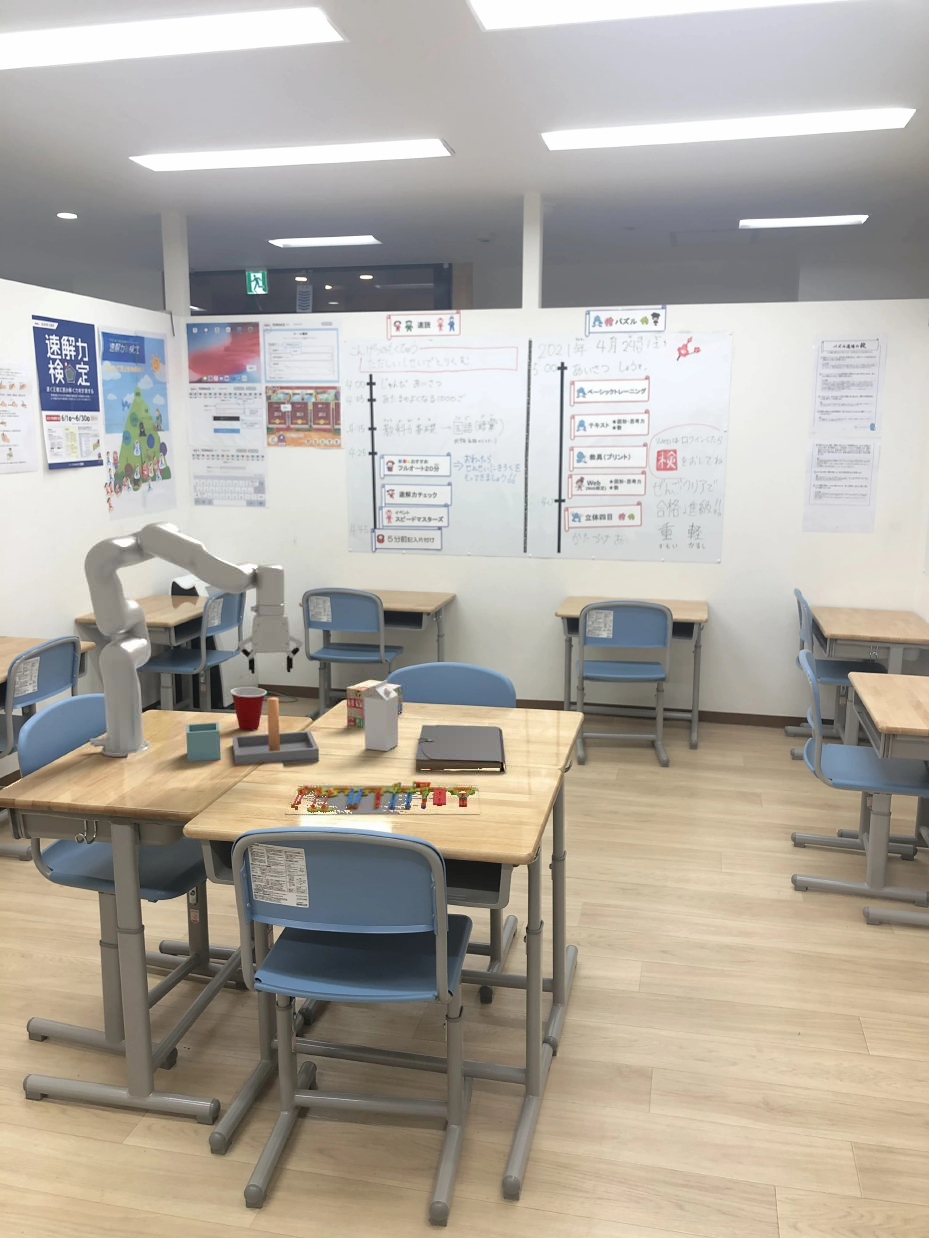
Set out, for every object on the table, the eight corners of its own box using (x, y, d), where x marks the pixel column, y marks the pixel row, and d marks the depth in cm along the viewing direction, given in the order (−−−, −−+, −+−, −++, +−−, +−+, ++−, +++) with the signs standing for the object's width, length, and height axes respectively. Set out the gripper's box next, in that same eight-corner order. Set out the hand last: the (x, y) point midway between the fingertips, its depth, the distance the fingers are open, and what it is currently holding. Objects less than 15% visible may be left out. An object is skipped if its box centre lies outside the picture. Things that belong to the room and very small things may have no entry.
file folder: (421, 723, 275) (502, 725, 275) (421, 736, 276) (502, 738, 276) (414, 757, 242) (506, 760, 242) (414, 772, 243) (505, 774, 243)
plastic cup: (263, 733, 277) (262, 694, 275) (227, 733, 277) (226, 694, 275) (271, 723, 288) (270, 686, 286) (237, 723, 288) (235, 685, 286)
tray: (235, 768, 245) (235, 755, 244) (232, 748, 262) (232, 736, 261) (318, 761, 251) (318, 748, 250) (310, 742, 268) (310, 730, 267)
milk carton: (364, 749, 262) (363, 684, 259) (376, 742, 268) (375, 678, 265) (387, 752, 259) (386, 686, 256) (398, 745, 266) (397, 680, 263)
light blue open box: (187, 765, 247) (186, 733, 245) (187, 755, 255) (186, 724, 253) (220, 762, 249) (219, 730, 248) (219, 753, 257) (218, 722, 256)
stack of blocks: (387, 710, 305) (386, 674, 303) (402, 713, 301) (402, 676, 299) (346, 725, 286) (346, 686, 284) (362, 728, 283) (362, 689, 281)
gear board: (478, 778, 231) (480, 806, 212) (477, 787, 232) (480, 816, 213) (298, 778, 231) (284, 806, 212) (299, 787, 231) (285, 816, 212)
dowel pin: (269, 753, 254) (267, 700, 252) (268, 750, 257) (266, 697, 255) (280, 752, 255) (278, 699, 253) (279, 749, 258) (277, 697, 255)
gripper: (238, 613, 244) (239, 676, 247) (304, 612, 249) (304, 673, 251) (236, 608, 251) (237, 670, 254) (300, 607, 256) (300, 667, 259)
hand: (270, 671), depth 253 cm, fingers open, 9 cm apart
